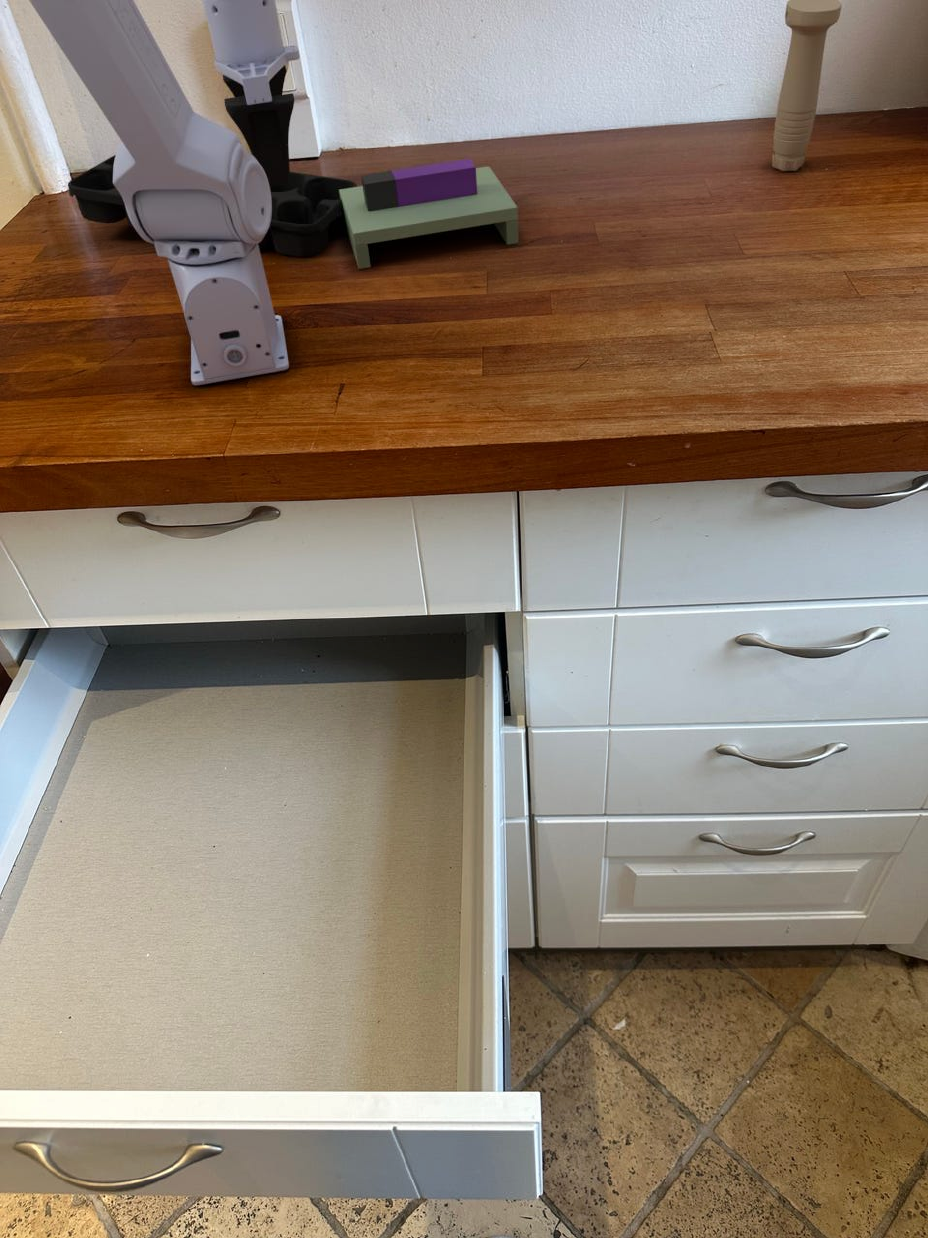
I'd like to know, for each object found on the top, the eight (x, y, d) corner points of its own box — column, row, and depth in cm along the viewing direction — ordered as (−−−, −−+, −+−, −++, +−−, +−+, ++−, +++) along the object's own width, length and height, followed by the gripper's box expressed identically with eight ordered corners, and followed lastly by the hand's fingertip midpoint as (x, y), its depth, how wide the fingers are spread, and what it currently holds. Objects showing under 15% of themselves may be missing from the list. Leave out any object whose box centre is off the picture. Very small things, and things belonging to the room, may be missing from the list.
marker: (477, 194, 91) (475, 166, 89) (368, 211, 90) (364, 183, 88) (471, 185, 93) (470, 157, 91) (364, 202, 91) (360, 174, 90)
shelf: (518, 243, 90) (517, 206, 88) (358, 269, 89) (353, 233, 86) (490, 200, 99) (489, 165, 96) (344, 223, 97) (338, 189, 95)
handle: (804, 155, 101) (832, -7, 90) (816, 176, 96) (847, 9, 86) (759, 157, 101) (782, -3, 91) (769, 179, 97) (794, 13, 86)
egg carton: (114, 178, 105) (106, 143, 103) (371, 194, 103) (369, 159, 100) (49, 245, 93) (38, 207, 90) (339, 264, 91) (336, 226, 88)
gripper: (293, 2, 69) (326, 190, 78) (280, -32, 79) (311, 138, 88) (199, 15, 68) (243, 203, 77) (198, -21, 78) (238, 149, 88)
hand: (274, 169), depth 83 cm, fingers open, 7 cm apart
